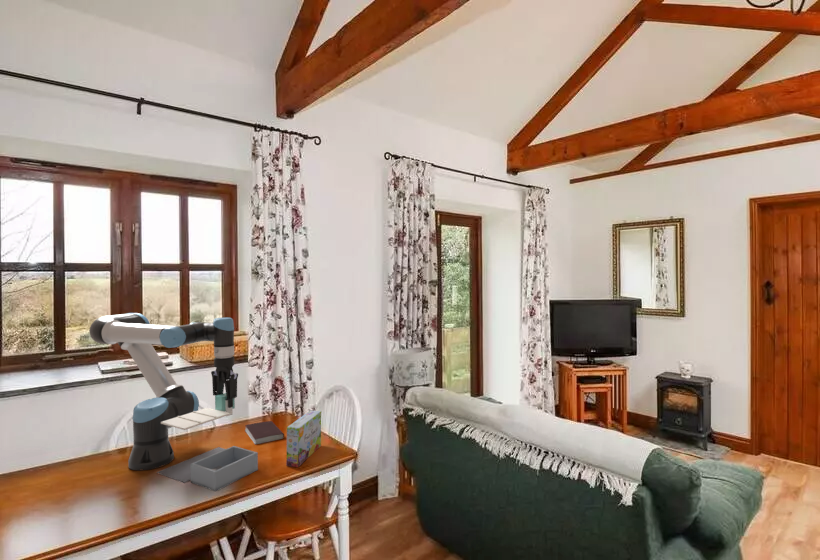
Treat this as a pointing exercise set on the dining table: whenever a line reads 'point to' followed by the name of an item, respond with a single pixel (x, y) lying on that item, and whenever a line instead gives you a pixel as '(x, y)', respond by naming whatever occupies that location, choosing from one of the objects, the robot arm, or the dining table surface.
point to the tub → (224, 467)
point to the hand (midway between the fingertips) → (225, 414)
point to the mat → (186, 467)
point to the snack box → (303, 438)
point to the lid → (200, 415)
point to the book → (263, 432)
